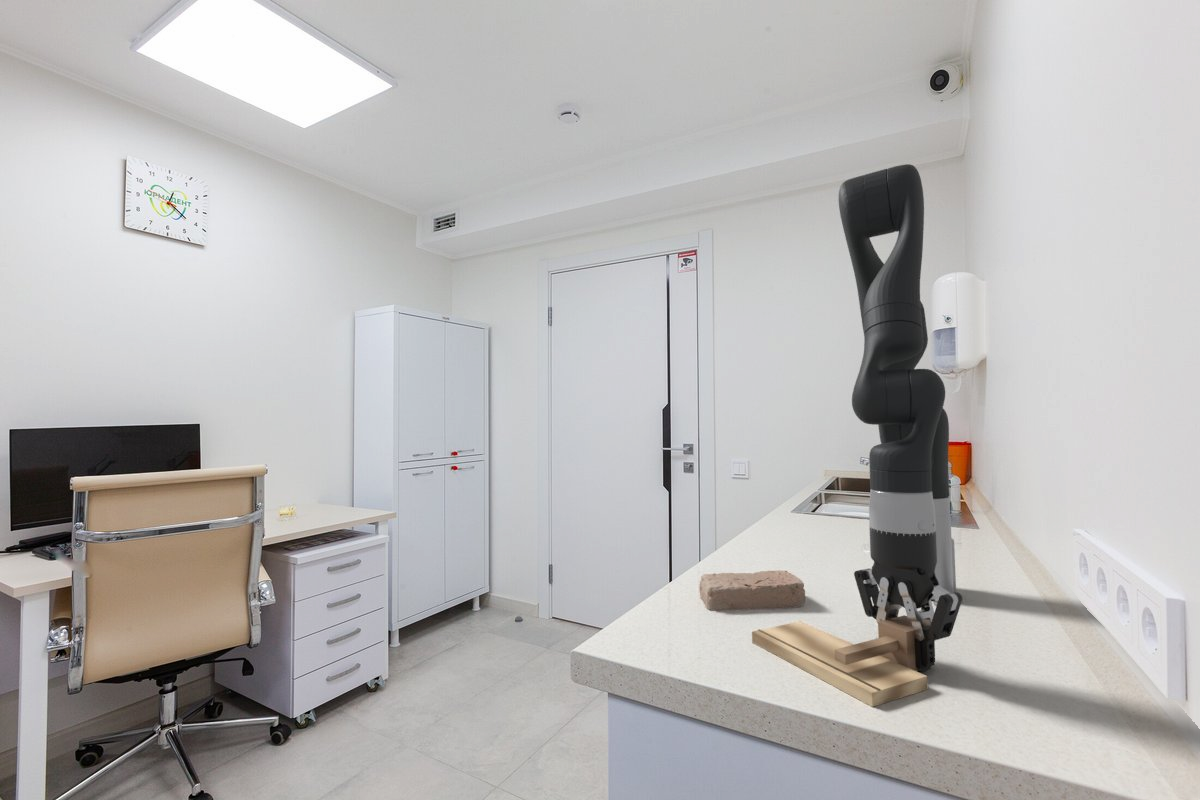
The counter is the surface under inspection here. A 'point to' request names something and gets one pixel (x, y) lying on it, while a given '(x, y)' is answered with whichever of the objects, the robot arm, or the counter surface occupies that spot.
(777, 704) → the counter surface
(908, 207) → the robot arm
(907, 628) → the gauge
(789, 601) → the brick
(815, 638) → the board
